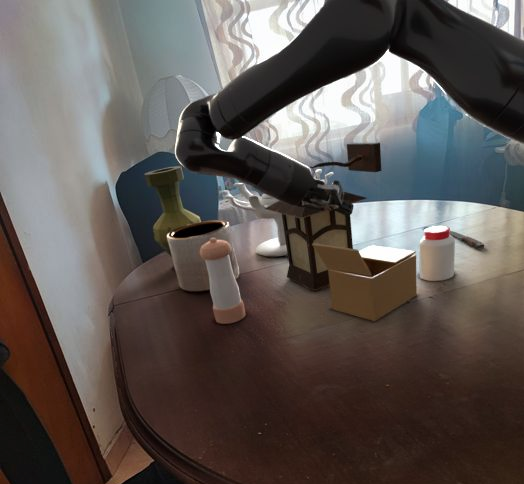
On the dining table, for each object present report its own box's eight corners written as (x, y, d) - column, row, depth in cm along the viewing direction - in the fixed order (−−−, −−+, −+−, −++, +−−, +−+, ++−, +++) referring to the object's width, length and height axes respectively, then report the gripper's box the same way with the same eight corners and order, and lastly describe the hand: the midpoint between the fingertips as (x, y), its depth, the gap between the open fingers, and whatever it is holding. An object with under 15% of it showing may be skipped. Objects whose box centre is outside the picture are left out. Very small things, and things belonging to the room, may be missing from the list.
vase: (159, 266, 158) (132, 174, 144) (203, 253, 162) (182, 163, 148) (169, 278, 144) (140, 178, 130) (217, 264, 148) (195, 166, 134)
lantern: (395, 267, 120) (391, 142, 105) (311, 298, 111) (294, 167, 97) (353, 253, 135) (344, 142, 121) (275, 279, 127) (256, 164, 112)
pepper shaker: (215, 326, 107) (195, 245, 98) (216, 313, 113) (197, 237, 104) (245, 320, 107) (228, 239, 98) (245, 308, 113) (229, 231, 104)
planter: (173, 283, 139) (159, 231, 132) (227, 266, 144) (217, 216, 137) (190, 300, 124) (175, 243, 117) (249, 281, 129) (238, 225, 122)
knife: (422, 225, 144) (438, 222, 144) (422, 229, 145) (438, 226, 145) (467, 247, 120) (486, 243, 120) (467, 252, 120) (486, 247, 120)
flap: (372, 274, 91) (371, 276, 91) (328, 266, 99) (327, 267, 99) (357, 249, 86) (356, 251, 86) (312, 243, 94) (311, 244, 94)
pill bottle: (438, 283, 106) (438, 236, 101) (412, 276, 112) (411, 232, 107) (461, 273, 109) (462, 227, 104) (435, 266, 115) (435, 223, 110)
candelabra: (252, 277, 132) (233, 178, 119) (222, 250, 162) (204, 168, 149) (358, 247, 139) (351, 150, 126) (311, 226, 169) (301, 146, 156)
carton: (374, 321, 95) (371, 274, 91) (332, 309, 104) (327, 266, 99) (416, 295, 103) (416, 251, 98) (373, 286, 111) (371, 245, 107)
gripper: (305, 147, 79) (377, 185, 88) (266, 166, 90) (333, 198, 99) (296, 189, 79) (369, 223, 88) (258, 203, 90) (326, 232, 99)
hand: (350, 210), depth 93 cm, fingers closed
